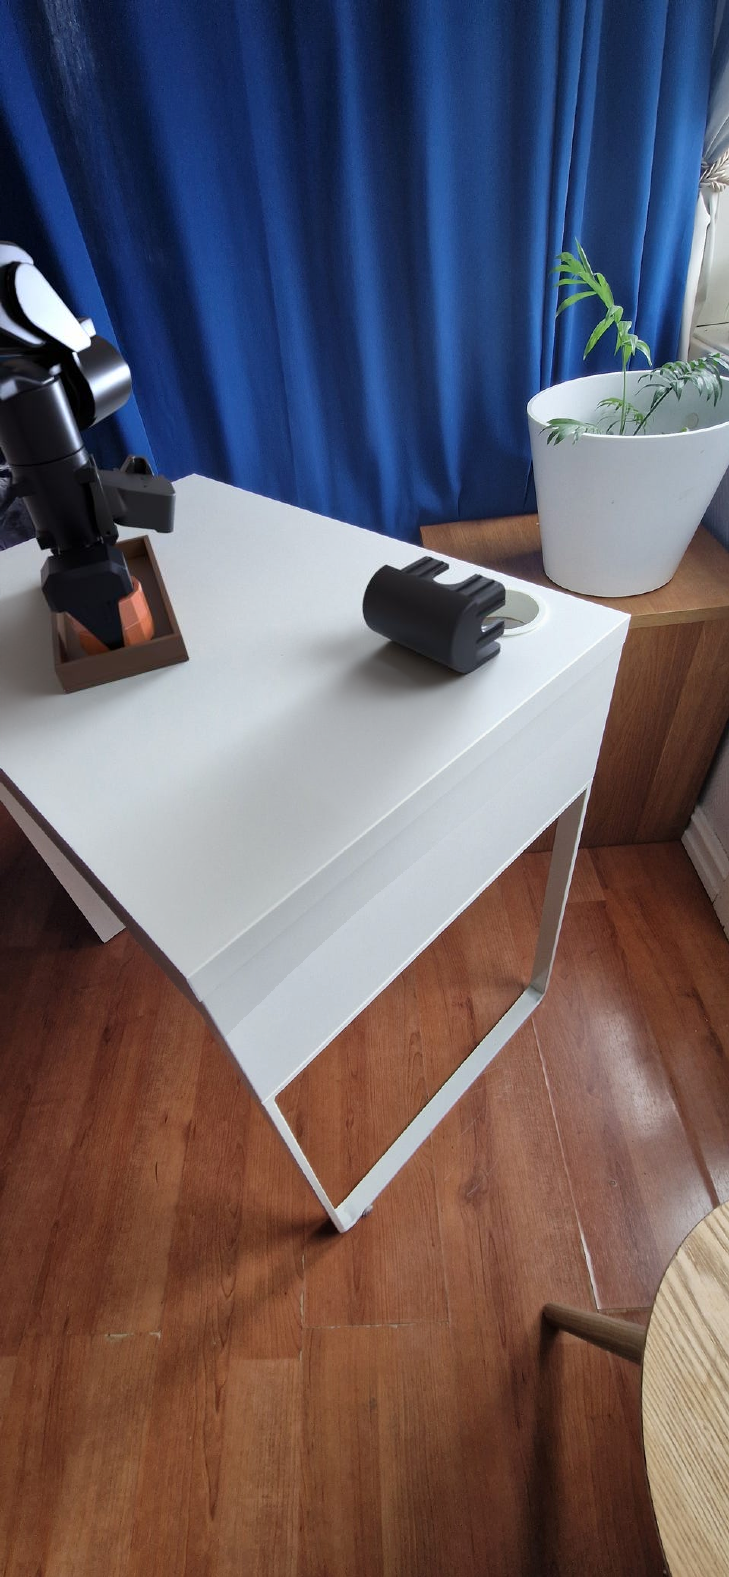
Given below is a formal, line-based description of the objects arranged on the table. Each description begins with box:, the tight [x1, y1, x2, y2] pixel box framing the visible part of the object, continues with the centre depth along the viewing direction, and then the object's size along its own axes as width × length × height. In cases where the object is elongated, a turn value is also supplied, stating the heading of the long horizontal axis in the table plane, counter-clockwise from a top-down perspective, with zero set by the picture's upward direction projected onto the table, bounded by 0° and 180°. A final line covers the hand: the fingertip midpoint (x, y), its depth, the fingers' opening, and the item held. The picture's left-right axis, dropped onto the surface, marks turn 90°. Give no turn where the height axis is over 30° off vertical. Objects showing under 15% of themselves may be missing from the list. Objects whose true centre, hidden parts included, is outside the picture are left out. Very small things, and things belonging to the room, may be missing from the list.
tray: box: [50, 534, 190, 694], centre depth 70 cm, size 24×11×3 cm, turn 20°
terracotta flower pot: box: [66, 576, 155, 656], centre depth 63 cm, size 7×7×5 cm
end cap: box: [361, 555, 507, 675], centre depth 58 cm, size 10×7×7 cm
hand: (115, 632), depth 64 cm, fingers closed on terracotta flower pot, 7 cm apart
